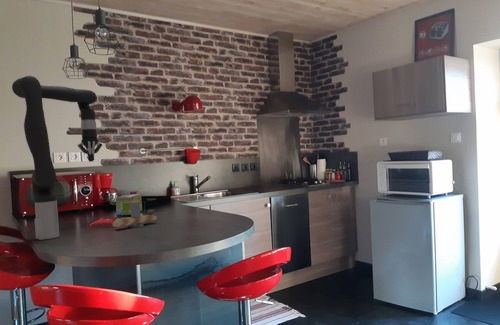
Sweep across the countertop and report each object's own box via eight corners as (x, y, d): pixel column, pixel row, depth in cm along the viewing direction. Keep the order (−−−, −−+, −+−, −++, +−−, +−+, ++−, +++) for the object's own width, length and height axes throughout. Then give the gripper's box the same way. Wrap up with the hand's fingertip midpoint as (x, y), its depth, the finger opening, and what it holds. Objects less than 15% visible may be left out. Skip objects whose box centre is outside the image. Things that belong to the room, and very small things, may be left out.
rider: (135, 219, 198) (134, 201, 198) (131, 218, 201) (129, 201, 201) (140, 218, 201) (139, 201, 200) (136, 217, 203) (135, 200, 203)
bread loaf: (118, 231, 190) (117, 216, 190) (112, 229, 195) (111, 215, 195) (157, 223, 206) (156, 210, 206) (150, 222, 211) (149, 209, 211)
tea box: (135, 223, 210) (133, 196, 210) (116, 224, 211) (114, 197, 210) (143, 218, 226) (141, 193, 225) (125, 219, 226) (124, 194, 225)
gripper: (79, 128, 200) (81, 162, 200) (104, 128, 209) (106, 160, 209) (73, 129, 205) (75, 162, 205) (98, 129, 214) (100, 161, 215)
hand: (91, 161), depth 207 cm, fingers closed
